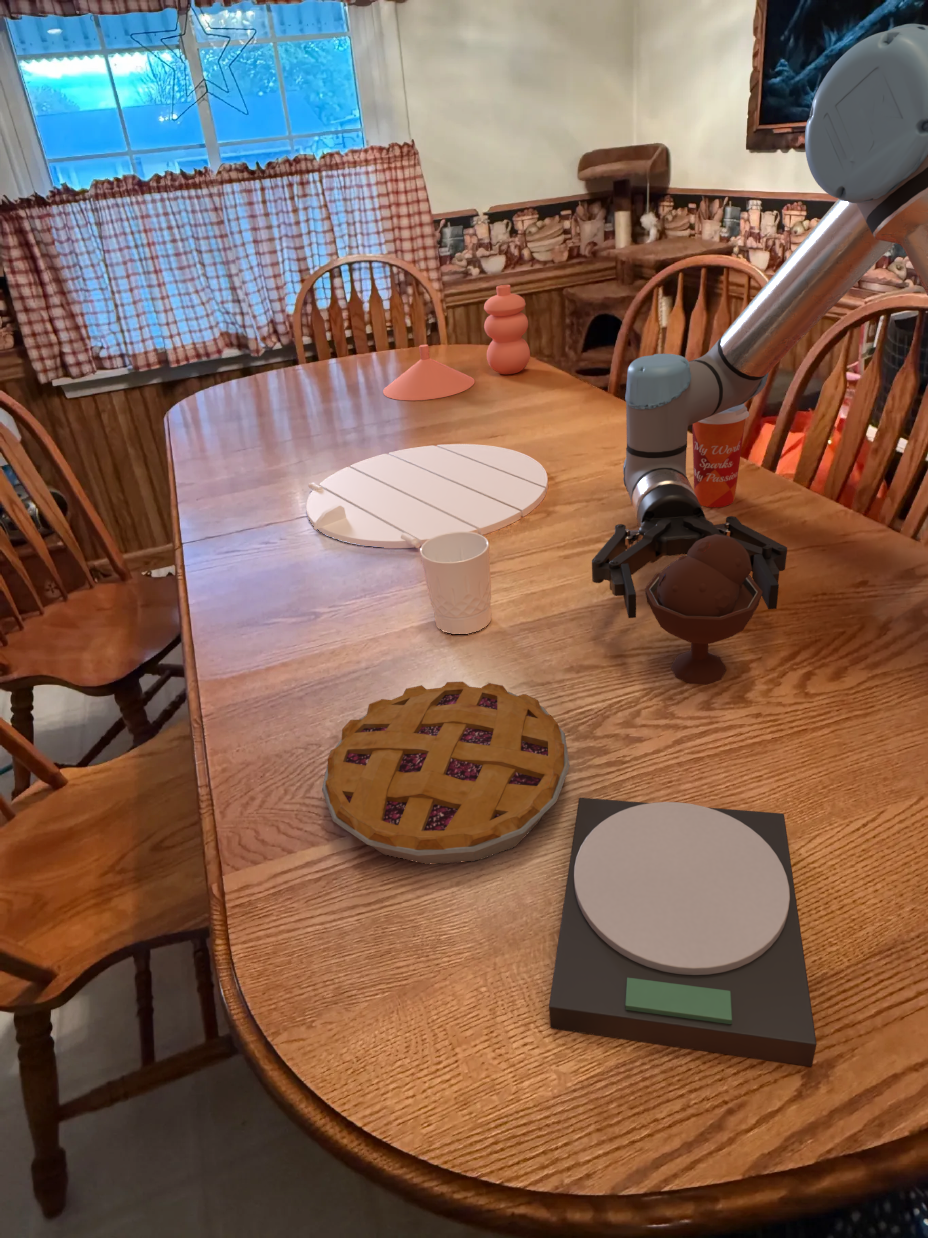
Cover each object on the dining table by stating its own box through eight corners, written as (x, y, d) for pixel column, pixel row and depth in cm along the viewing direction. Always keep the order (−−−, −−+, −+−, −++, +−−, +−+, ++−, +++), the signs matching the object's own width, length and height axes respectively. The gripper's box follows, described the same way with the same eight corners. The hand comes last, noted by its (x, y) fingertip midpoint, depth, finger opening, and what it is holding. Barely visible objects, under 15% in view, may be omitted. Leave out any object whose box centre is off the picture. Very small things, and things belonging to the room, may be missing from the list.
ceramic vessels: (392, 406, 177) (378, 315, 167) (376, 382, 195) (362, 299, 185) (545, 378, 183) (540, 289, 173) (516, 358, 201) (510, 276, 191)
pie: (294, 872, 67) (281, 829, 65) (367, 708, 86) (359, 669, 83) (560, 892, 63) (557, 846, 60) (578, 714, 81) (577, 673, 78)
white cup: (482, 642, 94) (474, 565, 89) (420, 634, 97) (408, 559, 92) (505, 607, 100) (498, 533, 95) (446, 601, 103) (436, 529, 98)
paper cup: (685, 509, 118) (688, 414, 111) (689, 488, 124) (692, 397, 117) (742, 511, 116) (749, 414, 108) (743, 489, 122) (750, 396, 114)
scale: (781, 835, 65) (785, 805, 64) (812, 1067, 50) (818, 1037, 48) (579, 817, 69) (578, 789, 68) (550, 1029, 54) (547, 999, 52)
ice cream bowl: (685, 628, 92) (690, 505, 84) (775, 667, 84) (790, 535, 76) (623, 670, 86) (622, 543, 79) (713, 715, 79) (722, 578, 71)
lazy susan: (382, 578, 110) (378, 555, 108) (263, 501, 138) (258, 481, 136) (599, 486, 128) (599, 466, 126) (454, 435, 156) (452, 417, 155)
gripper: (771, 532, 99) (829, 626, 81) (564, 547, 102) (575, 641, 84) (777, 474, 95) (839, 558, 77) (562, 491, 98) (573, 577, 80)
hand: (702, 602), depth 80 cm, fingers open, 13 cm apart
